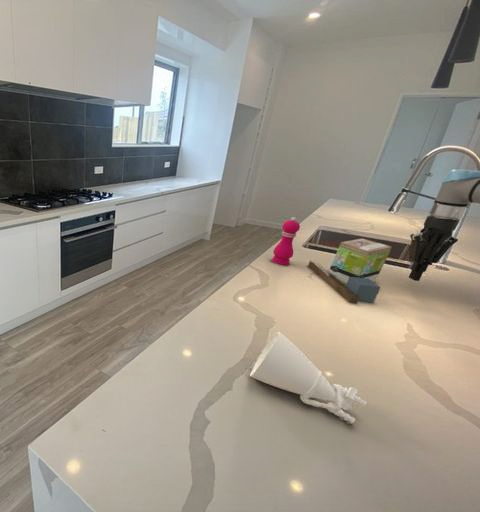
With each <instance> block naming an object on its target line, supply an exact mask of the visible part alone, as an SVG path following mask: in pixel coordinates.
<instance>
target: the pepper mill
mask: <svg viewBox="0 0 480 512" xmlns="http://www.w3.org/2000/svg"><path fill="white" fill-rule="evenodd" d="M300 229H301V225H300V223H299V222H298V221H297V218H296V217H295V216H292V217H290V220H289V219H288V220H286V221H284V223H282V232H281V235H282V237H281V240H280V242H279V243H278V244H276V246H275V247H274V249H273V251H272V253H273V256H272V260H271V261H272V262H273V263H274V264H277V265H280V266H281V265H282V266H288V265H289V264H290V262H291V260H290V259H291V258H292V257H293V256H294V247H293V241H294V238H296V237H297V232H299V231H300Z"/></svg>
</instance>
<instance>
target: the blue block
mask: <svg viewBox="0 0 480 512" xmlns="http://www.w3.org/2000/svg"><path fill="white" fill-rule="evenodd" d="M345 286H347V287H348V288H349V289H350V290H351V291H353V292H354V293H355V294H356V295H358V296H359V297H360V298H359V300H358V302H363V303H371V304H372V303H374V302H375V300H376V298H377V296H378V294H379V292H380V290H381V286H380V285H378V284H377V283H376V282H373V281H371V280H370V279H366V278H356V277H349V279H348V281H347V284H346V285H345Z"/></svg>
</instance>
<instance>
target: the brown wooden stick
mask: <svg viewBox="0 0 480 512" xmlns="http://www.w3.org/2000/svg"><path fill="white" fill-rule="evenodd" d="M307 266H308V267H309V268H310V269H311V270H312V271H313V272H314V273H315V274H317V275H318V276H319V277H320V278H321V279H322V280H324V281H325V283H327V284H328V285H329V286H331V287H332V288H333V289H334V290H335V291H336V292H337V293H338V294H339V295H341V296H342V297H343V298H344V299H345V300H346V301H347V302H348V303H350V304H356V305H357V304H358V302H359V301H358V300H359V298H360V297H359V296H358V295H356V294H355V293H354V292H353V291H351V290H350V289H349V288H348V287H347V286H346V285H345V284H343V283H342V282H340V281H339V280H338V279H337V278H335V277H334V276H333V275H332V274H330V273H329V270H327V269H326V268H324V267H323V266H322V265H321V264H320V263H318V262H317V261H316V260H309V262H308V265H307Z"/></svg>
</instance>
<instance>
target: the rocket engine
mask: <svg viewBox="0 0 480 512" xmlns="http://www.w3.org/2000/svg"><path fill="white" fill-rule="evenodd" d="M249 376H250V377H251V378H253V379H254V380H257V381H260V382H262V383H265V384H267V385H270V386H272V387H275V388H278V389H281V390H283V391H287V392H290V393H294V394H297V395H299V398H300V401H302V402H303V403H304V404H306V405H308V406H313V407H316V408H322V409H326V410H327V411H328V412H329V413H332V414H334V415H335V416H337V417H340V420H341V421H342V420H344V421H346V424H354V422H355V420H356V418H355V417H354V416H352V415H350V413H347V412H345V411H351V410H352V409H353V405H352V404H356V405H357V407H358V408H365V407H366V406H367V404H368V403H367V402H368V401H366V400H365V399H364V398H361V397H360V396H358V392H359V390H358V389H357V388H355V387H353V386H350V387H349V388H348V387H344V386H342V384H338V383H337V384H336V383H333V384H332V385H331V384H330V382H329V381H328V380H327V378H326V377H325V376H324V375H323V372H322V370H320V369H318V368H317V367H316V366H315V365H314V364H313V362H312V361H311V360H310V359H309V358H308V357H307V356H306V355H305V354H304V353H303V352H302V351H301V350H300V349H299V347H298V346H296V345H295V344H294V343H293V342H292V341H291V340H290V339H289V338H288V337H287V336H285V335H284V334H283V333H281V332H280V331H277V332H276V333H275V334H274V335H273V337H272V338H271V339H270V341H269V342H268V343H267V345H266V346H265V348H264V349H263V351H262V352H261V354H260V356H259V357H258V359H257V361H256V362H255V364H254V365H253V367H252V369H251V371H250V374H249ZM312 398H313V399H312ZM315 399H316V400H315ZM319 400H322V401H328V402H327V403H324V402H321V401H319Z"/></svg>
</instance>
